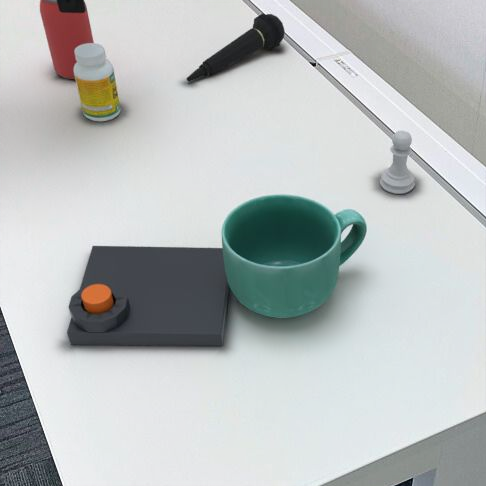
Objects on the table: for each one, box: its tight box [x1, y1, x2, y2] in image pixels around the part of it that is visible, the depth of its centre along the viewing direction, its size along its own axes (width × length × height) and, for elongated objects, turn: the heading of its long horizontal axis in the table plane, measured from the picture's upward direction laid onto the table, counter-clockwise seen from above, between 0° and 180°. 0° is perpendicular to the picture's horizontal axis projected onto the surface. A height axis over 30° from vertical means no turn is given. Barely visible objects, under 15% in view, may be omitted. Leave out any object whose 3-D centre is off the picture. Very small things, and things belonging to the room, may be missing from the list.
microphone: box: [186, 13, 286, 83], centre depth 123 cm, size 6×6×20 cm
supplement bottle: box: [74, 42, 122, 122], centre depth 109 cm, size 5×5×10 cm
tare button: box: [81, 284, 114, 314], centre depth 81 cm, size 3×3×2 cm
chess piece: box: [379, 130, 416, 195], centre depth 101 cm, size 5×5×8 cm
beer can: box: [39, 0, 95, 80], centre depth 115 cm, size 7×7×12 cm
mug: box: [221, 193, 368, 319], centre depth 85 cm, size 17×13×10 cm
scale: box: [66, 245, 230, 347], centre depth 85 cm, size 16×14×4 cm
